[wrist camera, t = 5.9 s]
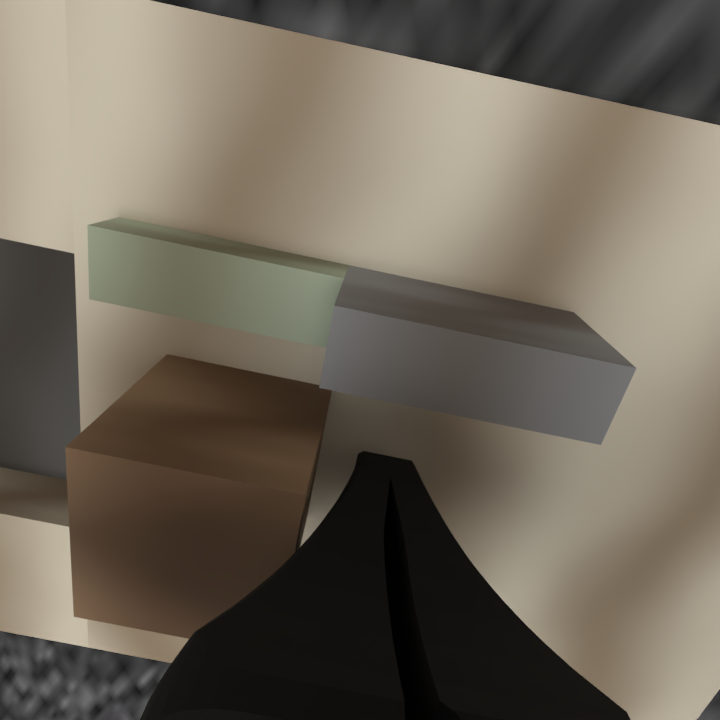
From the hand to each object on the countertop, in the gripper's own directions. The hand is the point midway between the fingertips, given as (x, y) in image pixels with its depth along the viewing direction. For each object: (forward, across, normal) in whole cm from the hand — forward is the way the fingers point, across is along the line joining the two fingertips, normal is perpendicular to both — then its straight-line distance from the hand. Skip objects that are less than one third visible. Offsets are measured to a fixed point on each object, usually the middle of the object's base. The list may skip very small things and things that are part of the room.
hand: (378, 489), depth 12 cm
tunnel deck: (+3, +2, 0) cm, 3 cm away
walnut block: (+1, +4, 0) cm, 4 cm away
